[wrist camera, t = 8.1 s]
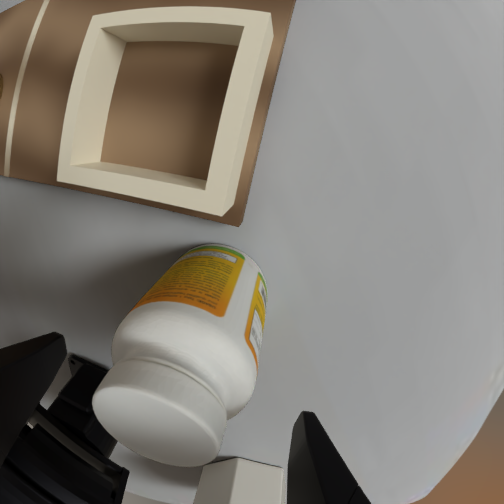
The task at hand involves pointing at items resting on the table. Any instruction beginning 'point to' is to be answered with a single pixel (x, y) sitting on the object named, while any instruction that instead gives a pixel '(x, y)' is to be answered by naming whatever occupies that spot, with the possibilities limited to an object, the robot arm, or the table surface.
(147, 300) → the supplement bottle
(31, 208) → the table surface
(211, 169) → the socket
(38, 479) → the robot arm
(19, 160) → the board
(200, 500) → the jar
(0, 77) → the gold knob
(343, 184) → the table surface
